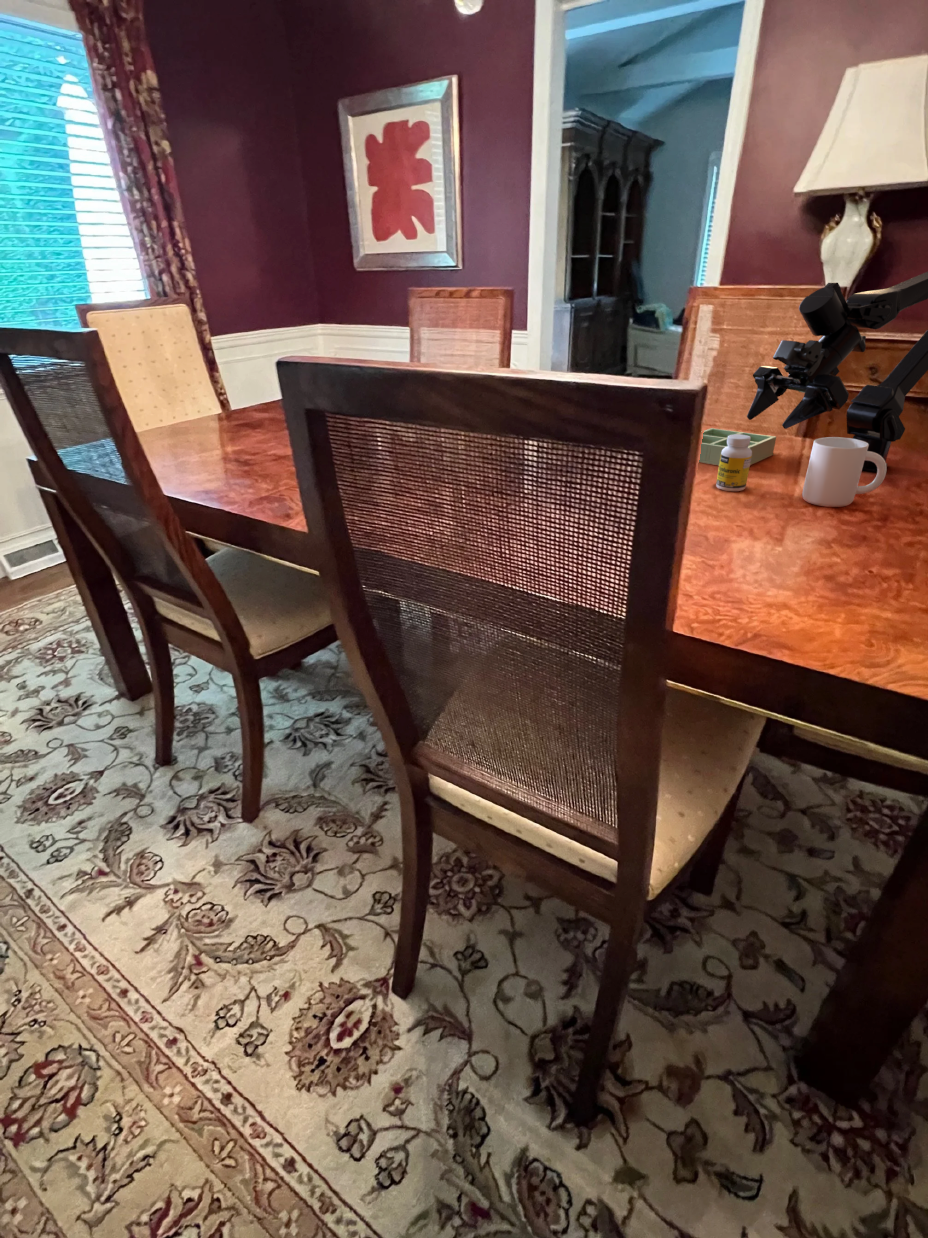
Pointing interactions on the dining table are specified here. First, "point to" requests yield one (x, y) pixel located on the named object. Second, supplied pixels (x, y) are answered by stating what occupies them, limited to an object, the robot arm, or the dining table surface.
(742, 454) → the supplement bottle
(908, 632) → the dining table surface
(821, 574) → the dining table surface
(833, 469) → the mug
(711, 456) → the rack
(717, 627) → the dining table surface
